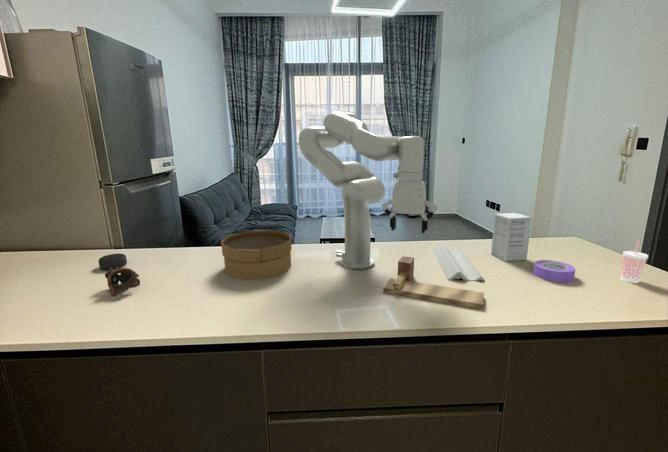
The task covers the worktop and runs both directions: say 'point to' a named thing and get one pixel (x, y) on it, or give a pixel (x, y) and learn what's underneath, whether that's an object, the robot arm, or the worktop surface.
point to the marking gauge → (404, 271)
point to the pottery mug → (121, 280)
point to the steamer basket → (257, 254)
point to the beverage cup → (633, 265)
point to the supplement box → (511, 236)
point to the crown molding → (456, 264)
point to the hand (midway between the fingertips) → (408, 230)
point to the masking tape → (554, 271)
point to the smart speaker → (112, 261)
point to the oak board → (437, 293)
